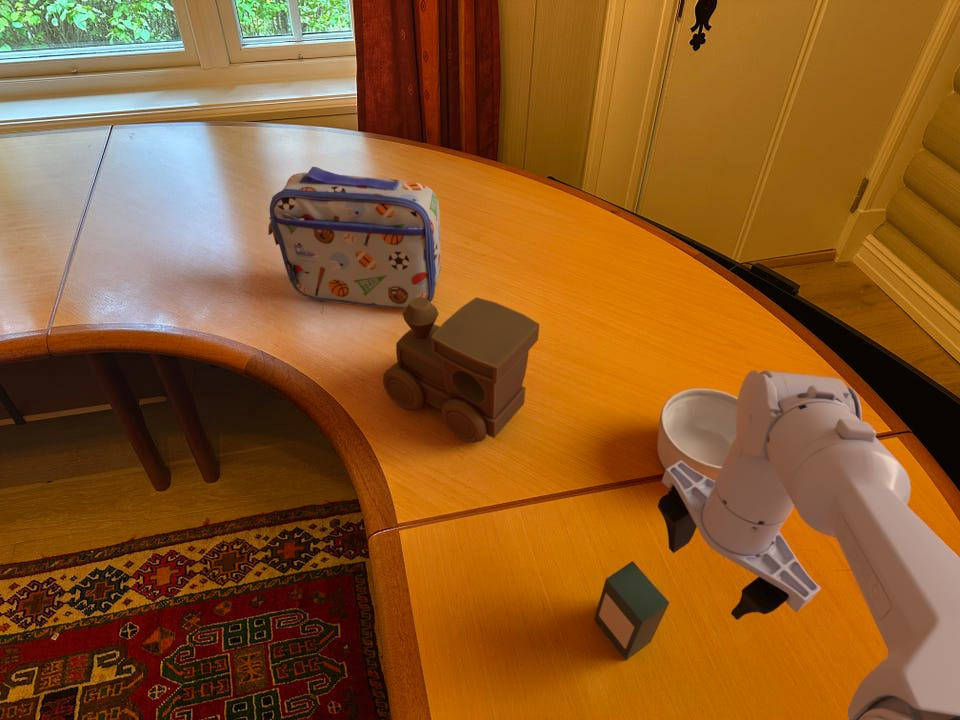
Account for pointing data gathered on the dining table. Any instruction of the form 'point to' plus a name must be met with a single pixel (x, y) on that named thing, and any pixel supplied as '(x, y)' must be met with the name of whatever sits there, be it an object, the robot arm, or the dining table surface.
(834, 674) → the dining table surface
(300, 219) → the lunch box
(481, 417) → the wooden toy train
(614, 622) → the carton
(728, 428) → the ramekin
